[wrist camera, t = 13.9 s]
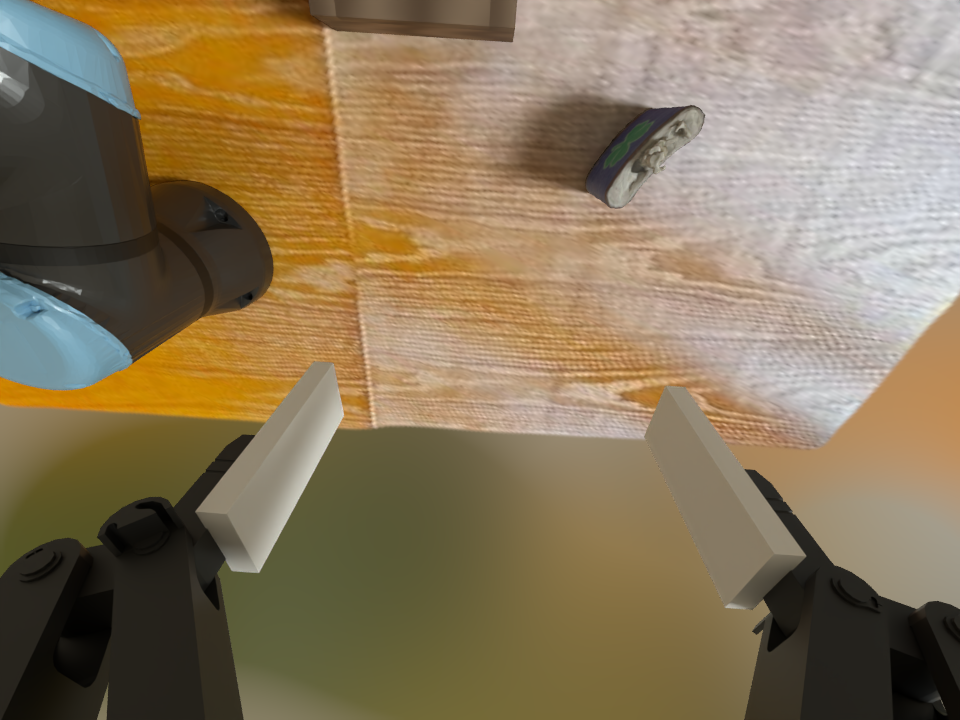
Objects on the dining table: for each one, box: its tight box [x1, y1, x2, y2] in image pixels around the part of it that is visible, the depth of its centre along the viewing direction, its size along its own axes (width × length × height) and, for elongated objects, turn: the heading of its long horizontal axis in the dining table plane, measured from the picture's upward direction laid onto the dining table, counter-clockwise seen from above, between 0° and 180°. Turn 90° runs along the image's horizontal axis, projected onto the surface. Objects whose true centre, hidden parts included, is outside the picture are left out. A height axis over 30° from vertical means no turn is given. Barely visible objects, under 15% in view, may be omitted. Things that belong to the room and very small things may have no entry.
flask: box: [585, 105, 705, 209], centre depth 32 cm, size 9×3×11 cm, turn 140°
